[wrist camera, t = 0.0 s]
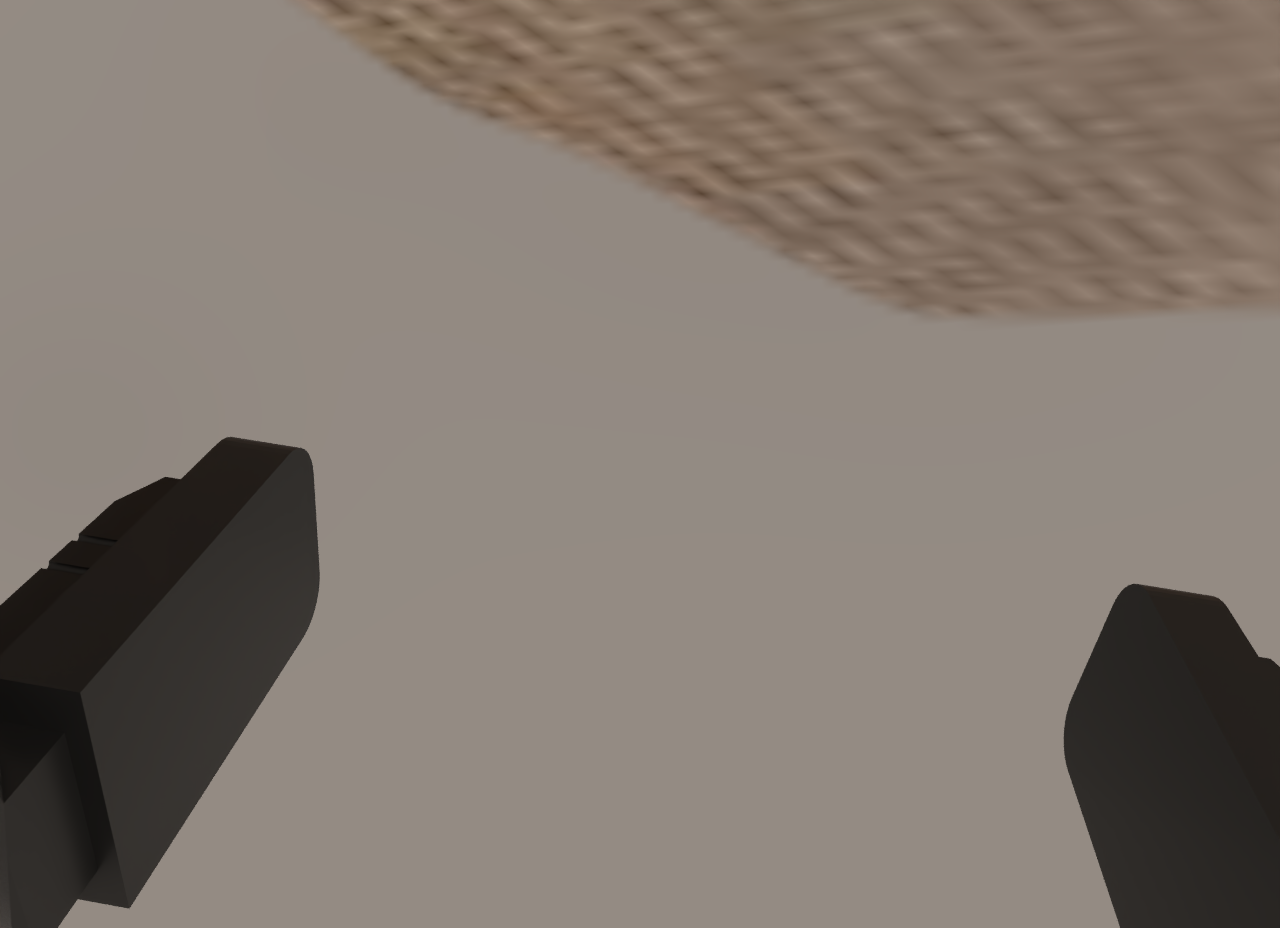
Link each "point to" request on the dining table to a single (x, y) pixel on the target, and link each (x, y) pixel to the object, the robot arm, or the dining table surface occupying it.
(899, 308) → the dining table surface
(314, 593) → the robot arm
